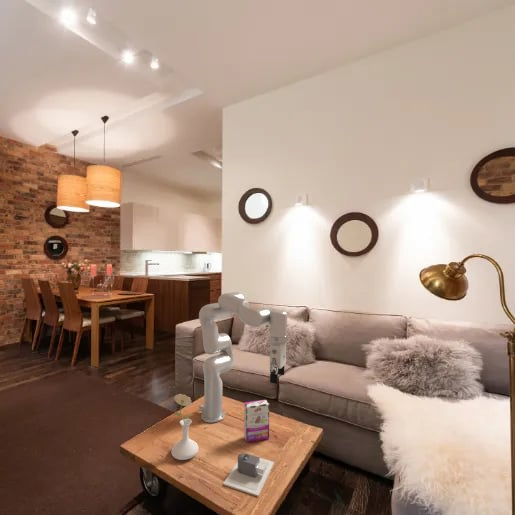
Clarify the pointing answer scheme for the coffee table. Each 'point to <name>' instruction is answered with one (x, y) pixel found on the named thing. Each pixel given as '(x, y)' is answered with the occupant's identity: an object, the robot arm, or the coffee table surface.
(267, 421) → the candy bar box
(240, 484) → the white rectangular tray
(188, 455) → the flower in vase
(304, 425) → the coffee table surface
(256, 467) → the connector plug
